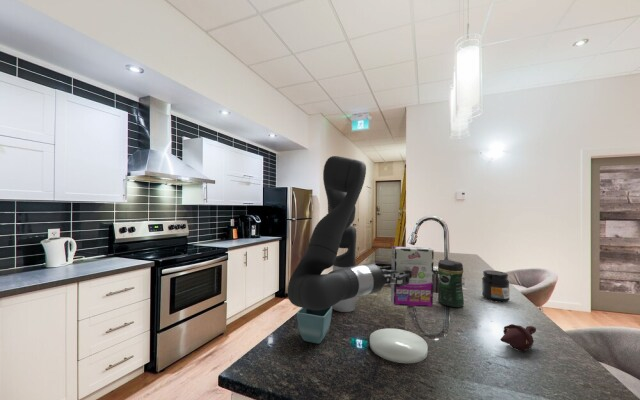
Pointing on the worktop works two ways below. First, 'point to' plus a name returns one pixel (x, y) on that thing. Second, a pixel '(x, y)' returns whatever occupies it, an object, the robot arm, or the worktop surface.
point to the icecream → (518, 337)
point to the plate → (398, 345)
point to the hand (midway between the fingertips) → (399, 271)
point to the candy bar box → (413, 276)
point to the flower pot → (314, 324)
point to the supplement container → (495, 286)
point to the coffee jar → (450, 283)
